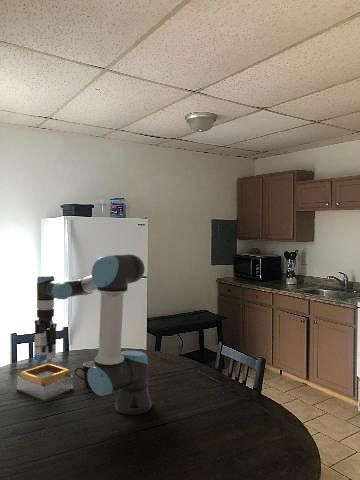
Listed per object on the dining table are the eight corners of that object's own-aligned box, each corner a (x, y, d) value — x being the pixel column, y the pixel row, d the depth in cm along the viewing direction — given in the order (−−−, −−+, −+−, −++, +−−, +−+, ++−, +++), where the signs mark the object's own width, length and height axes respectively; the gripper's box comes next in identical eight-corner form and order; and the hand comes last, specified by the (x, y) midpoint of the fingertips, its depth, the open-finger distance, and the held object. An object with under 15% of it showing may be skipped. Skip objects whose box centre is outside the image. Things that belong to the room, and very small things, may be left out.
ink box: (40, 362, 180) (40, 336, 180) (33, 359, 183) (33, 334, 183) (56, 357, 187) (56, 332, 186) (49, 355, 190) (49, 330, 189)
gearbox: (73, 388, 186) (73, 370, 186) (43, 400, 173) (43, 380, 172) (41, 377, 199) (41, 360, 199) (12, 387, 186) (12, 369, 186)
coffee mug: (103, 381, 195) (103, 361, 195) (97, 388, 186) (98, 367, 186) (80, 380, 196) (80, 360, 196) (73, 387, 187) (74, 366, 187)
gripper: (64, 309, 182) (64, 359, 183) (40, 305, 192) (40, 352, 193) (51, 312, 176) (50, 364, 176) (26, 307, 186) (26, 356, 187)
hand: (45, 357), depth 185 cm, fingers closed on ink box, 5 cm apart
